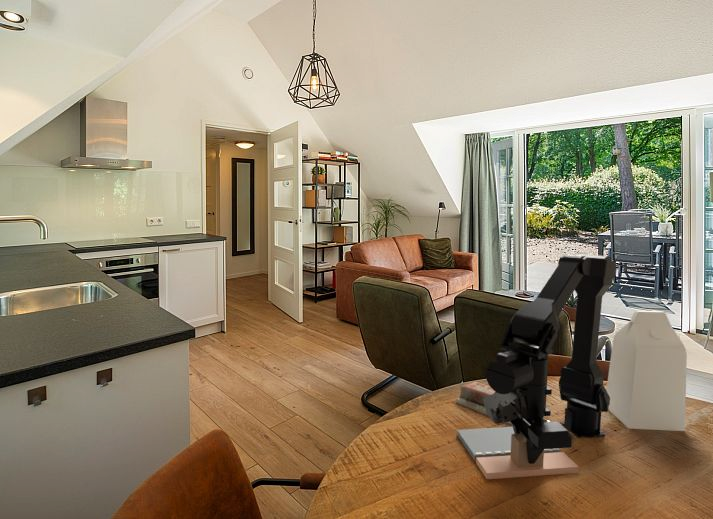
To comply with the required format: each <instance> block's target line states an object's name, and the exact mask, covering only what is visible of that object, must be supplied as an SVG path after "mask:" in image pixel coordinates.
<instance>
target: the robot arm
mask: <svg viewBox="0 0 713 519" xmlns="http://www.w3.org/2000/svg"><path fill="white" fill-rule="evenodd" d="M616 274H617V264H616V262H615V261H613V260H612V258H611V256H609V255H596V254H586V253H585V254H583V253H579V254H577V255H576V254H564V255H561V256H560V257H559V259H558V262H557V267H556V268H555V270H554V271H553V272H552V274H551V276H550V277H549V278H548V280H547V282H546V283H545V284H544V286H543V287H542V289H541V291H540V292H539V293H538V295H537V297H536V298H535V299H534V300H533V301H530V302H528V303H526V304H523V305H522V306H521V307H520V308H519V309H518V310H517V311H516V312H515V313H514V315H513V316H512V317H511V319H510V322H509V323H508V325H507V328H506V331H505V333H504V335H503V337H502V340H501V342H500V344H499V349H500V350H503V351H505V352H498V353H497V354H496V356H495V357H496V358H495V360H493V361H491V362H490V363H488V365H487V367H486V369H485V372H484V373H485V379H486V383H488V386H490V387H491V388H492V389H493V390H494V391H495V393H494V394H492V395H489V396H487V397H485V398H483V403H484V406H485V409H486V412H487V415H486V416H488V417H489V418H490V419H491V420H492V422H493V423H494V424H497V425H499V424H503V423H506V424H508V423H507V422H509V421H510V422H511V423H512V425H511V427H513V429H514V433H515V434H522V435H523V436H524V437H525V438H526V444H527V457H528V463H529V464H534V463H535V462H536V461H537V459H538V458H539V456H540V455H541V453H542V452H543V450H544V449H558V448H559V449H569V448H572V446H573V440H574V439H573V438H574V435H575V436H576V437H577V438H591V437H592V438H593V437H605V436H606V433H605V432H604V431H603V430H602V429H601V426H602V425H601V423H602V422H601V421H602V412H603V413H607V412H609V410H608V407H609V405H610V397H609V395H608V393H607V391H606V389H607V388H606V387H605V386H604V374H603V372H602V370H601V369H600V367H599V365H598V363H597V357H598V346H599V336H600V327H601V326H600V324H601V314H602V302H603V296H604V295H605V294H606V293H607V292H608V291H609V290H610V288H611V287H612V286H613V281H614V278H615V276H616ZM574 292H575V293H576V304H575V305H576V306H575V316H574V327H573V329H574V330H573V338H572V349H571V357H570V360H569V362H568V363H567V364H566V365H565V366H563V367H561V369H560V377H559V380H558V389H559V396H560V400H561V401H564V402H567V403H566V407H565V409H564V420H562V421H561V423H560V422H559V421H555V420H554V421H551V420H547V419H544V417H551V414H552V413H551V410H550V409H549V408H548V407H547V396H549V395H550V396H551V395H553V394H552V391H553V390H552V388H551V387H549V386H548V372H549V371H548V368H549V355H551V354H553V353H554V349H552V347H553V345H554V343H555V341H556V340H557V338H558V335H559V334H558V333H559V330H560V323H559V316H560V314H561V313H562V311H563V310H564V308H565V307H566V304H567V303H568V301H569V299H570V298H571V296H572V294H573V293H574ZM515 341H516V342H515ZM522 343H523V344H522Z"/></svg>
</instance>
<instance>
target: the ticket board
mask: <svg viewBox="0 0 713 519" xmlns="http://www.w3.org/2000/svg"><path fill="white" fill-rule="evenodd" d="M511 434H515V433H514V429H513V426H501V427H500V426H499V427H485V428H482V427H481V428H468V429H457V430H456V436H457V437H458V438H459V440H460V442H461V444H463V446H464V448H465V449H466V451H467V452H468V454H469V455H470V457H471V458H472V460H473V461H474V462H476V458H479V457H494V456H509V455H511ZM555 452H562V449H561V448H558V449H544V453H555Z"/></svg>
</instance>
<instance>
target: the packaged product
mask: <svg viewBox="0 0 713 519" xmlns="http://www.w3.org/2000/svg"><path fill="white" fill-rule="evenodd" d="M494 393H495V391H494V390H493V389H492V388H491V387H490V386H489V385H487V384H484V383H481V382H479V381H473V380H472V381H471V382H468V383H466V384H464V385H461V386H460V394H459V396H458V397H456V400H455V404H458V405H461V406H463V407H466V408H469V409H471V410H473V411H475V412H478V413H480V414H483V415H486V416H488V415H487V412H486V409H485V406H484V403H483V398H485V397H487V396H489V395H492V394H494ZM506 424H508V425H511V426H512V423H511V422H510V421H509V422H507V423H506Z"/></svg>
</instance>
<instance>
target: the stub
mask: <svg viewBox="0 0 713 519" xmlns="http://www.w3.org/2000/svg"><path fill="white" fill-rule="evenodd" d="M475 462H476V463H475V464H476V465H477V467H478V468H479V470H480V472H481V473H482V474H483V476H484V478H485V479H486V480H496V479H497V480H498V479H509V478H510V479H511V478H522V477H523V478H525V477H537V476H538V477H539V476H550V475H553V476H554V475H567V474H579V468H580V467H579V466H578V464H576V463H575V462H574V461H573V459H571V458H570V457H569V456H568V455H567V454H566V453H565V452H564V451H561V452H555V453H544V450H543V452H542V453H541V455H540V456H539V458H538V459H537V461H536V462H535V463H534V464H529V463H528V457H527V444H526V438H525V437H524V436H523V435H522V434H511V455H509V456H494V457H479V458H476V461H475Z"/></svg>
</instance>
